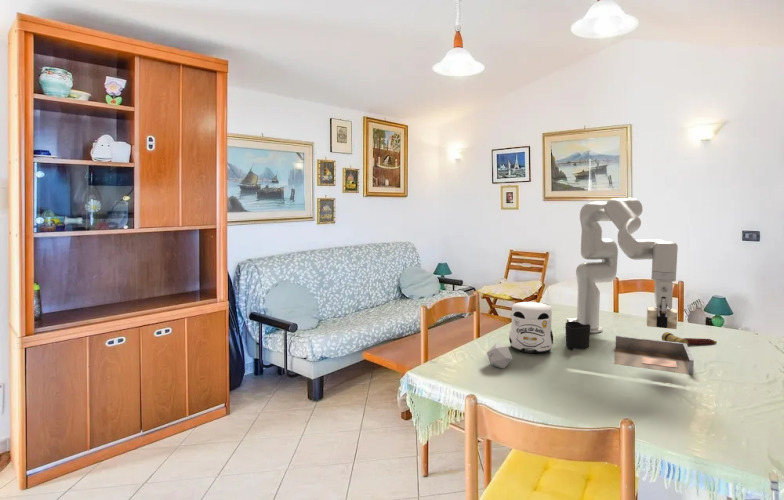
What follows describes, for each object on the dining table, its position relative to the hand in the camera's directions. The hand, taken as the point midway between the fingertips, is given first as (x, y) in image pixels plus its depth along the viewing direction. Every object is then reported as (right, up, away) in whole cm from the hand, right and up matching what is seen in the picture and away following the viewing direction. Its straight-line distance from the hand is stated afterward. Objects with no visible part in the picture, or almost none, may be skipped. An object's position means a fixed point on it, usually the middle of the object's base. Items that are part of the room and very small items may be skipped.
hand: (661, 324), depth 162 cm
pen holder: (-21, -13, +22) cm, 33 cm away
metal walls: (-1, -15, +5) cm, 16 cm away
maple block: (0, 0, 0) cm, 0 cm away
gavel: (+28, -13, +24) cm, 39 cm away
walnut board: (-1, -15, +5) cm, 16 cm away
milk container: (-41, -14, +22) cm, 48 cm away
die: (-58, -16, +4) cm, 60 cm away
